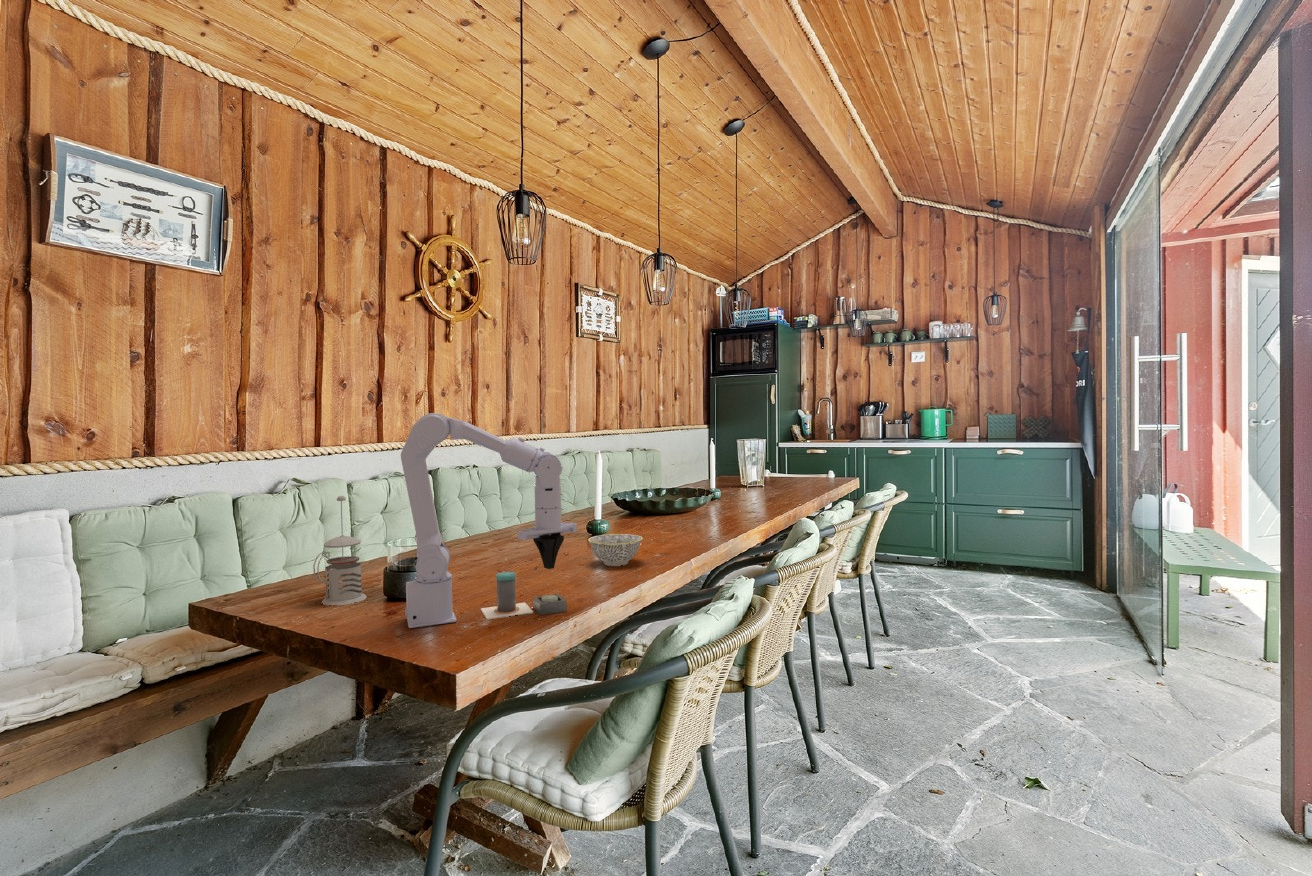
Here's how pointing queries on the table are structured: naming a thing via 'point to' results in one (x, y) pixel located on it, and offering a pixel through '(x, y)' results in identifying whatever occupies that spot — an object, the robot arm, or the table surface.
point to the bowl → (615, 548)
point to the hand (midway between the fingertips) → (549, 568)
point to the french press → (342, 572)
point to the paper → (494, 614)
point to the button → (549, 598)
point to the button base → (550, 605)
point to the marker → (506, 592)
